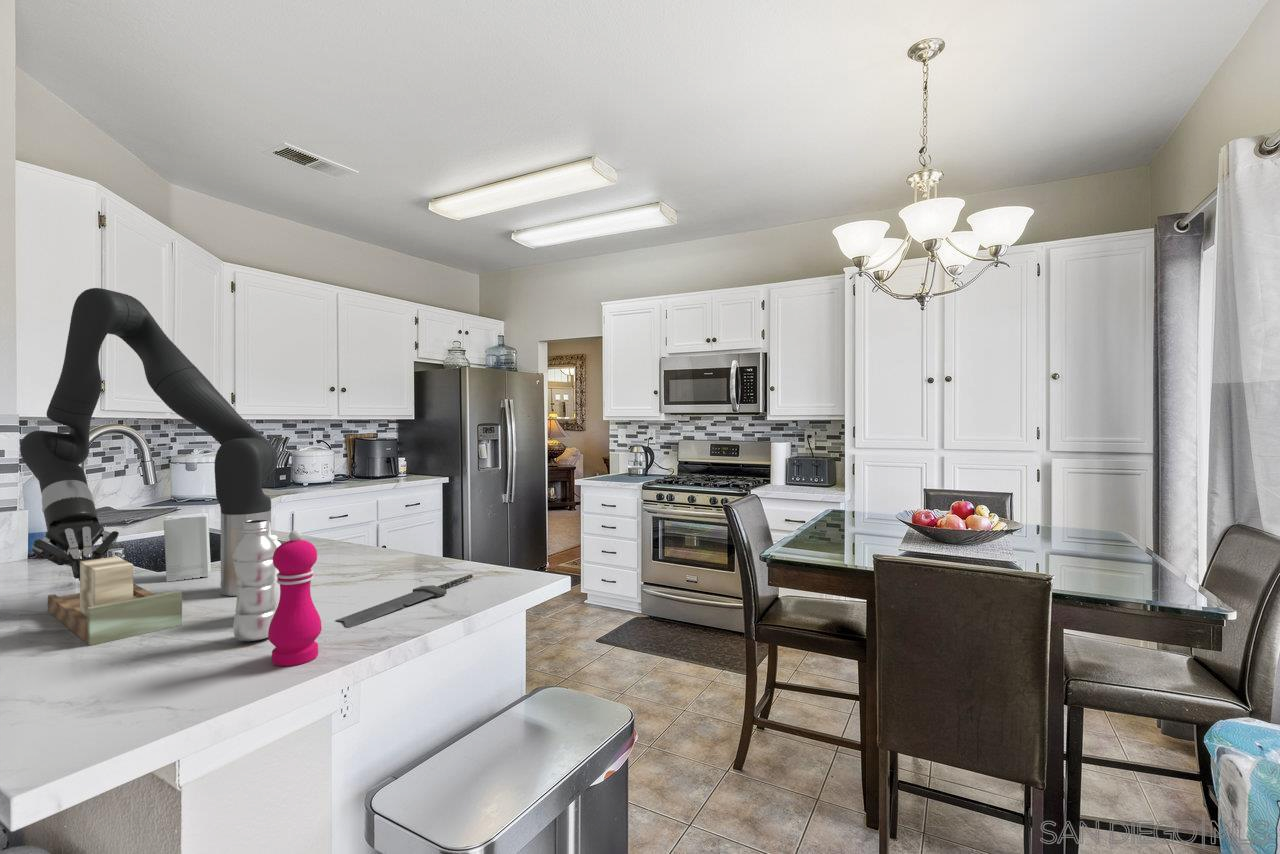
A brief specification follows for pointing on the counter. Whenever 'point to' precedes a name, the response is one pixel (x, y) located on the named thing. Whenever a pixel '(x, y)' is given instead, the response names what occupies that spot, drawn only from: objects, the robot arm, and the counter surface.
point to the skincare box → (187, 546)
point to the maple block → (104, 582)
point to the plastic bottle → (254, 582)
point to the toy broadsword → (398, 603)
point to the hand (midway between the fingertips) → (85, 577)
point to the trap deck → (119, 615)
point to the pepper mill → (294, 604)
